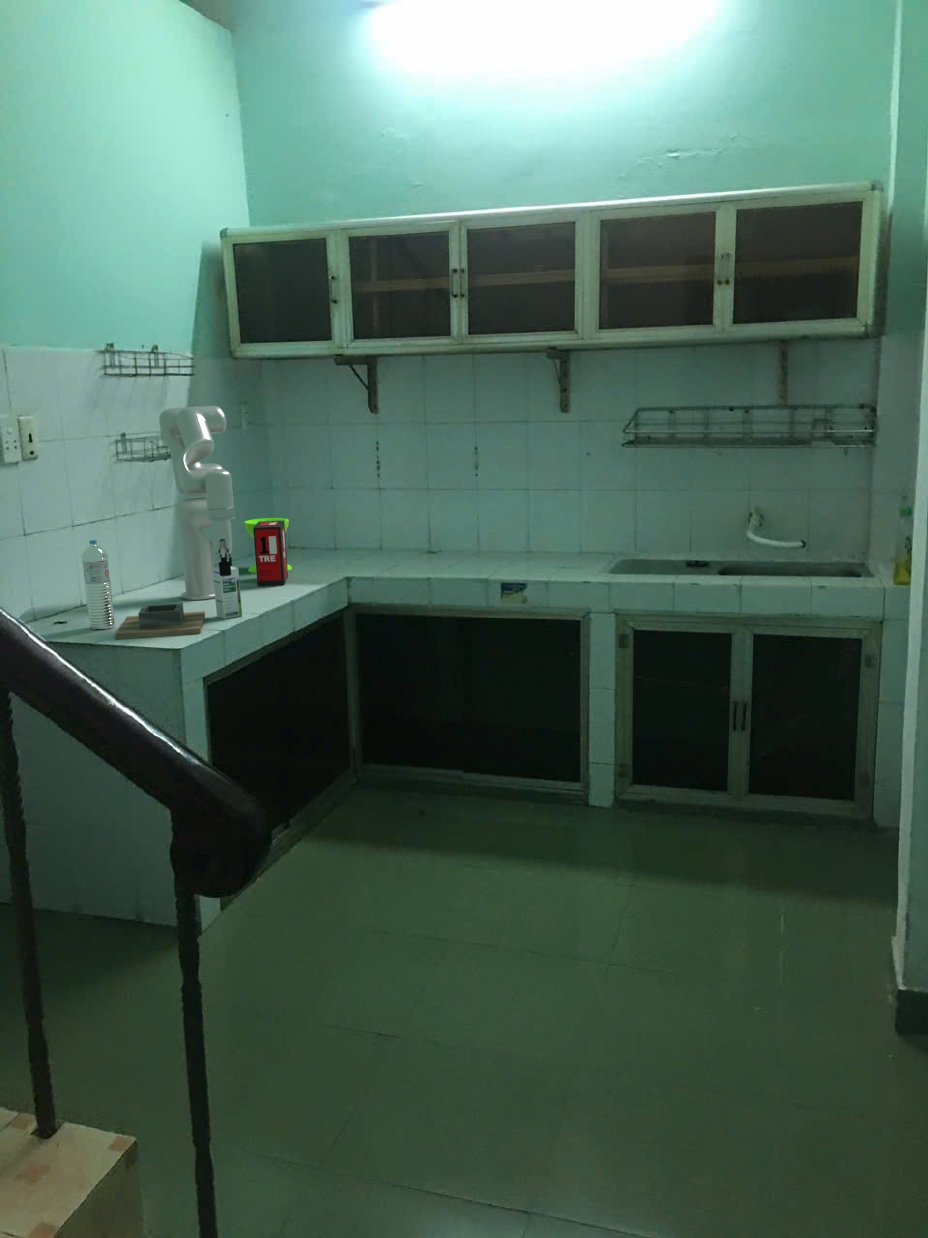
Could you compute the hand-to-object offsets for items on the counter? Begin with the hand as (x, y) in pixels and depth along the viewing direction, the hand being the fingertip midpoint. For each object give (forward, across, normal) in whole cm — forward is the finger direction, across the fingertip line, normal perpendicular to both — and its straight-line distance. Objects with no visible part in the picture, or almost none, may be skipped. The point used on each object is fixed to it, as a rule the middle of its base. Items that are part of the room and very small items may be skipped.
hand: (226, 573), depth 292 cm
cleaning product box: (+12, -53, +13) cm, 56 cm away
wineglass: (+11, -78, +12) cm, 80 cm away
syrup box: (+13, -1, 0) cm, 13 cm away
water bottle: (+13, +3, -35) cm, 38 cm away
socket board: (+13, +8, -18) cm, 24 cm away
